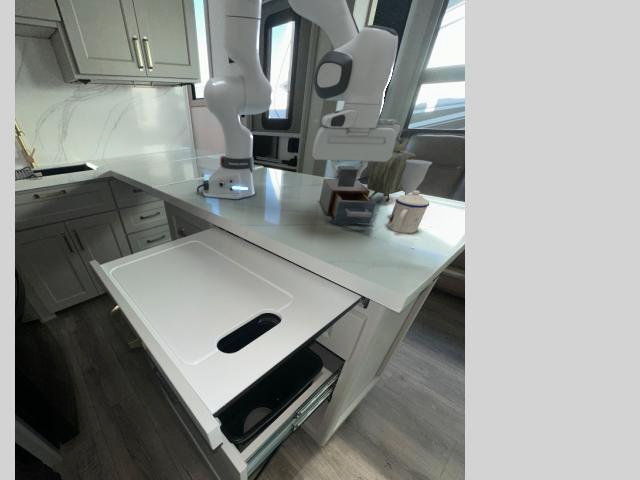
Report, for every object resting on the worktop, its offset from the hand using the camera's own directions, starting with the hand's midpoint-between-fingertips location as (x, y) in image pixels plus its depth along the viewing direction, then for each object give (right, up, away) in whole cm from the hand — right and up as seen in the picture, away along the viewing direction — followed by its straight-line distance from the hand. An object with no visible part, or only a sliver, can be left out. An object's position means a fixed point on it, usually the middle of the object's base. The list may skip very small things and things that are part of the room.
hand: (345, 178), depth 74 cm
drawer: (+8, -6, +17) cm, 20 cm away
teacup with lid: (+23, -11, +12) cm, 28 cm away
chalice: (+26, -5, +19) cm, 33 cm away
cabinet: (+9, +1, +27) cm, 29 cm away
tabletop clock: (+29, +7, +35) cm, 46 cm away
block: (0, -1, +1) cm, 2 cm away
